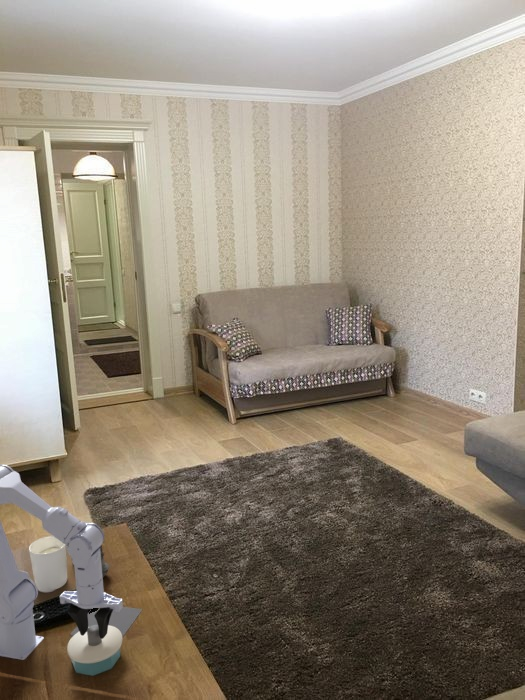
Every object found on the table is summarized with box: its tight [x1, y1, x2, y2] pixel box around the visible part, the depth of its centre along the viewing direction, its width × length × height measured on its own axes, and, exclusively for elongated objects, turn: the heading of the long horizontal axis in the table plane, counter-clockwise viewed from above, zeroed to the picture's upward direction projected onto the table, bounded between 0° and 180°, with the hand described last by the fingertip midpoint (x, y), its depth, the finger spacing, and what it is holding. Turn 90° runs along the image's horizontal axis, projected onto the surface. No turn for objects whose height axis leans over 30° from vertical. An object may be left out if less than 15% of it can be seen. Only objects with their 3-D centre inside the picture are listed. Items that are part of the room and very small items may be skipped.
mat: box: [69, 606, 143, 639], centre depth 149 cm, size 13×13×1 cm
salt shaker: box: [99, 544, 110, 578], centre depth 168 cm, size 6×6×12 cm
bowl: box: [70, 648, 121, 677], centre depth 136 cm, size 10×10×4 cm
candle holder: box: [28, 535, 68, 593], centre depth 166 cm, size 10×10×12 cm
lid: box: [66, 625, 123, 664], centre depth 135 cm, size 12×12×4 cm
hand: (94, 634), depth 135 cm, fingers open, 4 cm apart
